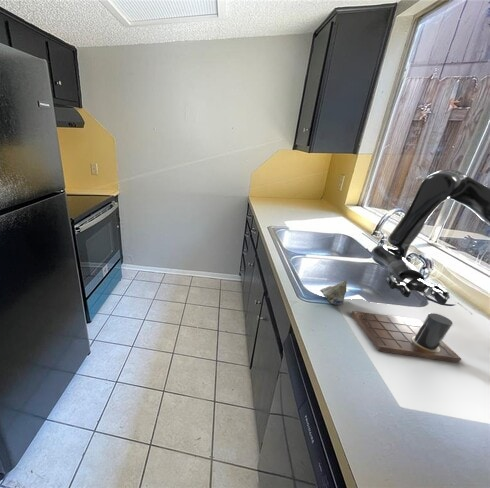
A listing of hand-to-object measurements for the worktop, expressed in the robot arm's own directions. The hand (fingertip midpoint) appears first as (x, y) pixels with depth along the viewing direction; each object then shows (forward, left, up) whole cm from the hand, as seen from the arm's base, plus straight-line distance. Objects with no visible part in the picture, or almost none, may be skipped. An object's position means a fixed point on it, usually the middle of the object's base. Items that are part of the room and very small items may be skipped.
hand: (425, 298), depth 78 cm
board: (+6, +5, -11) cm, 14 cm away
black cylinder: (+2, +9, -9) cm, 13 cm away
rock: (+20, -10, -11) cm, 25 cm away
